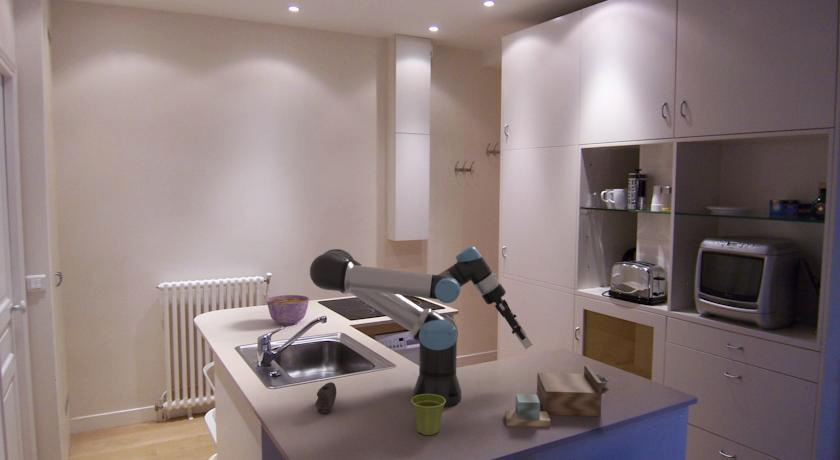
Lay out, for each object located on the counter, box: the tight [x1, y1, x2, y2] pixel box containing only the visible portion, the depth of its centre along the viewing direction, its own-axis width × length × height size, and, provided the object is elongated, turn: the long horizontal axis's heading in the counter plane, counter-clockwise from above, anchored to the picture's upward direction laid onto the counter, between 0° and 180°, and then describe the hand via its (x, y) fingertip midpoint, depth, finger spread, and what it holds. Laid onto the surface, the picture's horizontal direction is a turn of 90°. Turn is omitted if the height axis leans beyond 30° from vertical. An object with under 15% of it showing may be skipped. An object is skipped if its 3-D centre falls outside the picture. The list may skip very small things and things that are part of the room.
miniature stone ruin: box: [596, 374, 610, 389], centre depth 182 cm, size 11×8×4 cm
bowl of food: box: [266, 294, 310, 326], centre depth 262 cm, size 20×20×12 cm
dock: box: [536, 364, 603, 417], centre depth 167 cm, size 16×16×10 cm
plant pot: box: [410, 394, 446, 436], centre depth 149 cm, size 9×9×9 cm
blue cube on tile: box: [504, 393, 551, 428], centre depth 155 cm, size 12×6×7 cm, turn 87°
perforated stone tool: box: [314, 381, 337, 414], centre depth 165 cm, size 15×5×7 cm, turn 176°
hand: (526, 341), depth 182 cm, fingers open, 13 cm apart
